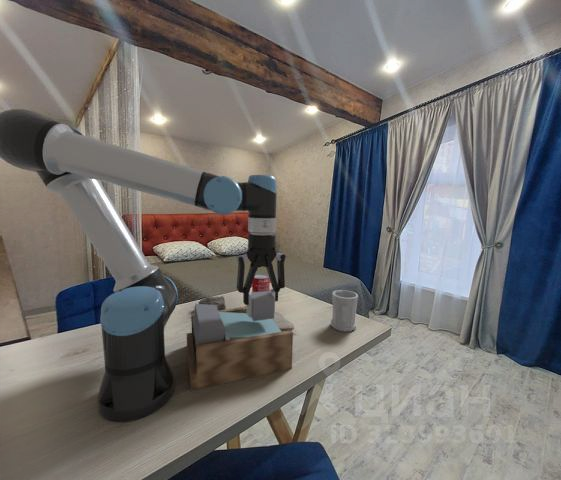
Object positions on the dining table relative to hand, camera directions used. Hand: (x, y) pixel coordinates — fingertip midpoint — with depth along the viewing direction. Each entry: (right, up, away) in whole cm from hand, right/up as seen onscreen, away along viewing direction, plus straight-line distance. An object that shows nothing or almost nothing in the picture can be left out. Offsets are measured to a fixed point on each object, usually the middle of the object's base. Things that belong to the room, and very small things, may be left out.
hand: (260, 313), depth 78 cm
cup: (+28, -10, +18) cm, 35 cm away
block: (0, -1, 0) cm, 1 cm away
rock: (-20, -7, +30) cm, 37 cm away
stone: (+3, -10, +20) cm, 23 cm away
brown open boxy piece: (-7, -12, -1) cm, 14 cm away
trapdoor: (-7, -5, -2) cm, 9 cm away
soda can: (-3, -7, +36) cm, 37 cm away
